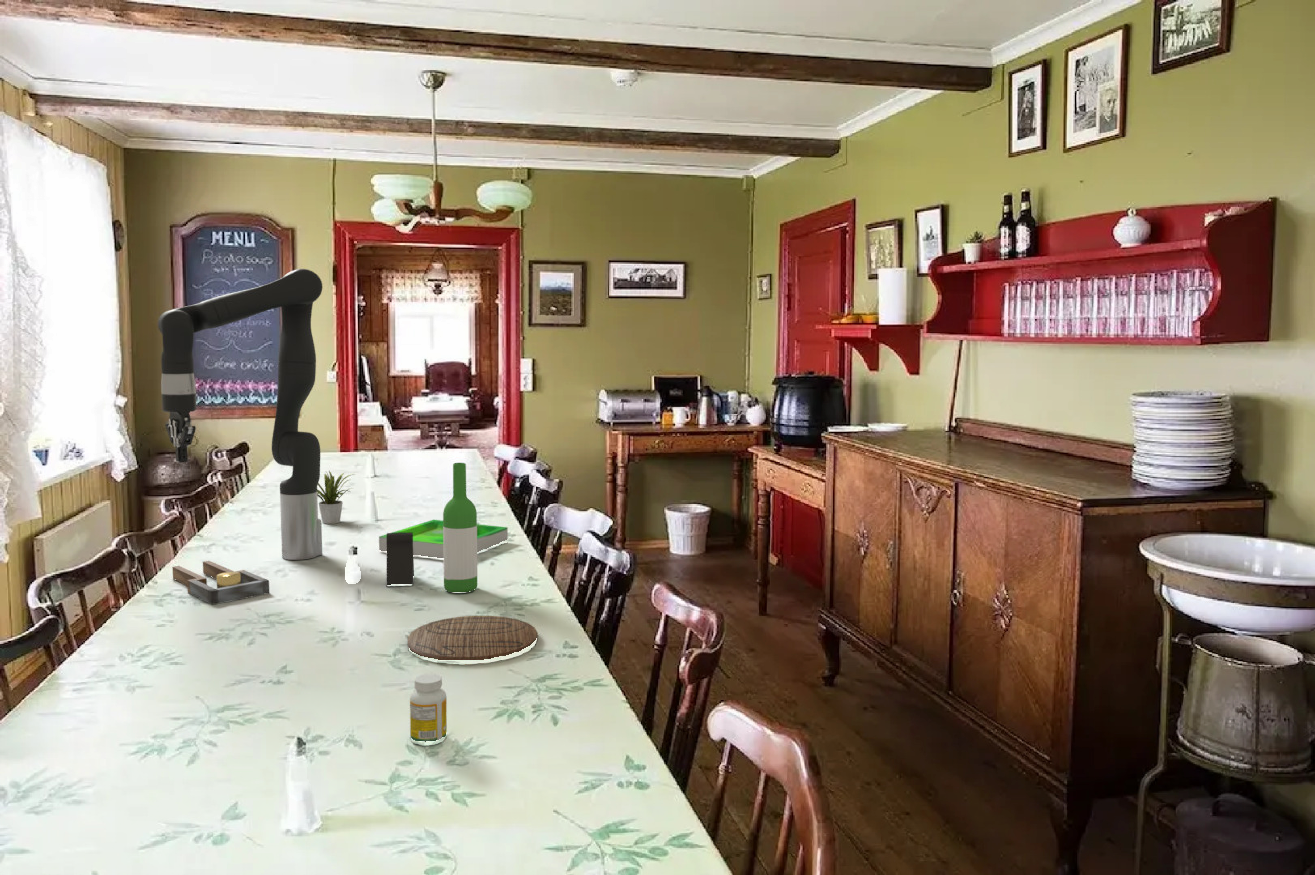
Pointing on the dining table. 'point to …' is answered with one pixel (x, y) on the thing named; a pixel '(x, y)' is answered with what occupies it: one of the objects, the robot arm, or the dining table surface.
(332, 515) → the house plant
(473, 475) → the dining table surface
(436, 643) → the trivet
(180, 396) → the robot arm
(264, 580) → the chute
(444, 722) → the supplement bottle
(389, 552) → the door stopper
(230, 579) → the tan rounded block
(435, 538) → the tray
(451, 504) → the wine bottle
